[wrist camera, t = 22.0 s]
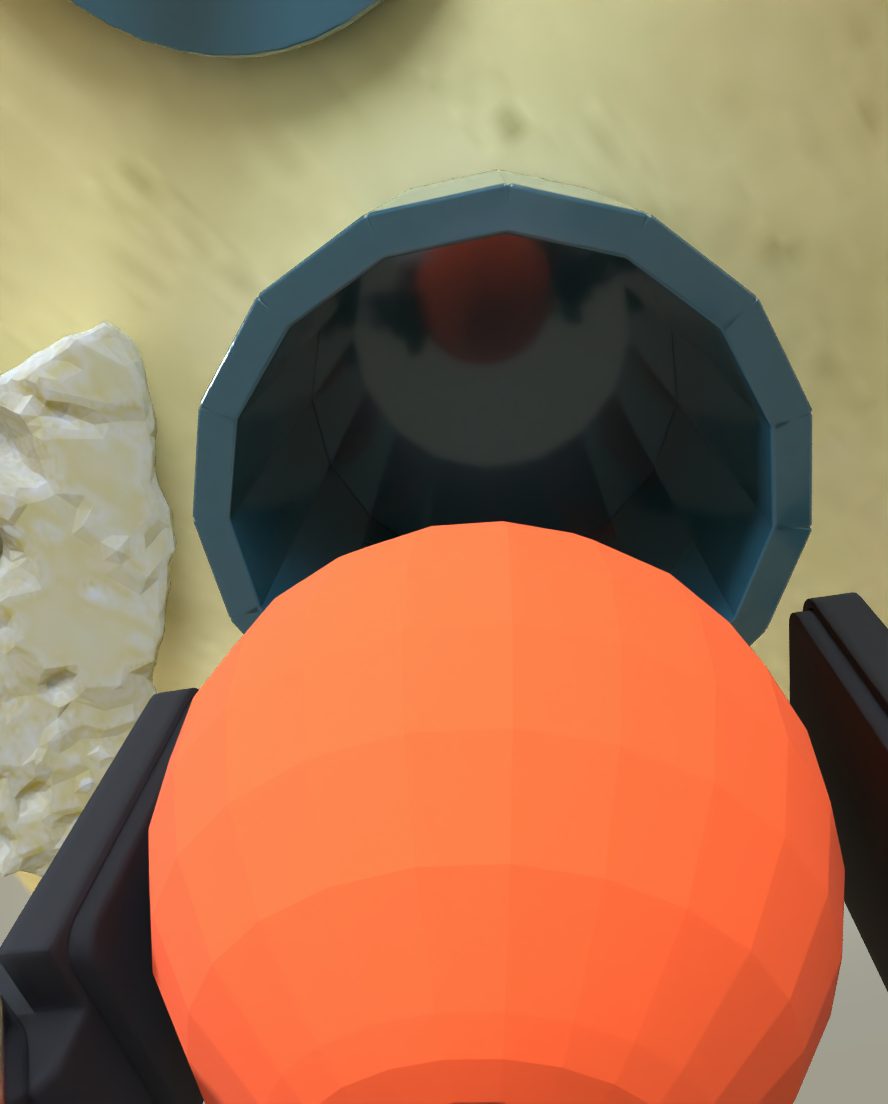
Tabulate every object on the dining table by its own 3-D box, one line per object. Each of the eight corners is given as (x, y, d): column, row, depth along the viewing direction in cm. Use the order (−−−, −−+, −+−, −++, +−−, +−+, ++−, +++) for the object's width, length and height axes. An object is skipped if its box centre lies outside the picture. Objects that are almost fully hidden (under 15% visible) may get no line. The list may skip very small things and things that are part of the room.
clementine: (893, 541, 11) (1502, 1137, 4) (673, 884, 14) (836, 1523, 7) (307, 359, 10) (-15, 760, 3) (215, 767, 13) (-42, 1369, 7)
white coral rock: (-72, 237, 25) (-443, 639, 22) (-31, 189, 20) (-523, 722, 16) (274, 512, 34) (57, 830, 31) (368, 533, 29) (118, 926, 25)
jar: (683, 127, 21) (815, 115, 13) (708, 541, 27) (812, 723, 18) (239, 226, 23) (98, 272, 15) (348, 597, 28) (292, 788, 20)
